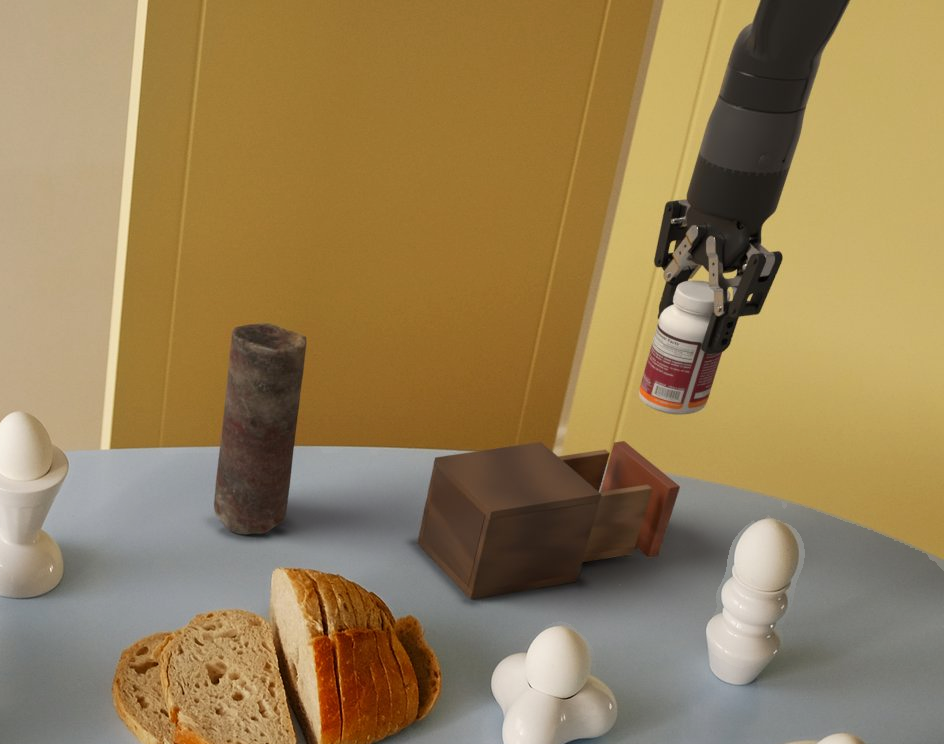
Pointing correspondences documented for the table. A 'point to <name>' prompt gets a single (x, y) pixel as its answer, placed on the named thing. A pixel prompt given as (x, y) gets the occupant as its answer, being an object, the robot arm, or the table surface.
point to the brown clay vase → (259, 427)
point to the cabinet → (507, 519)
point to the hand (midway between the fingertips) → (690, 335)
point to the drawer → (625, 501)
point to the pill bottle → (681, 353)
